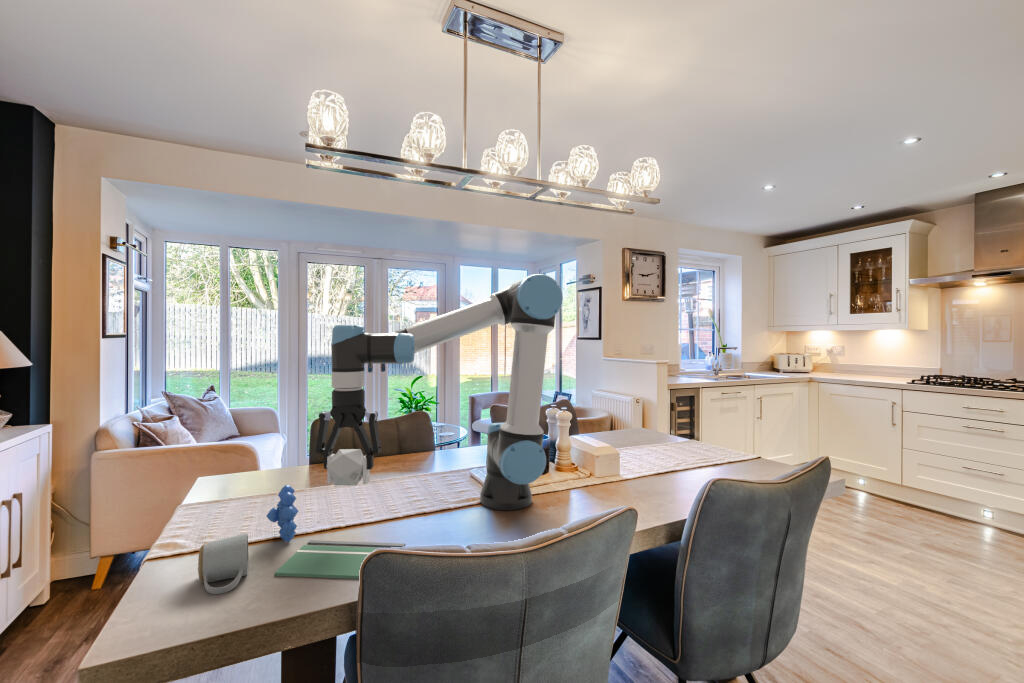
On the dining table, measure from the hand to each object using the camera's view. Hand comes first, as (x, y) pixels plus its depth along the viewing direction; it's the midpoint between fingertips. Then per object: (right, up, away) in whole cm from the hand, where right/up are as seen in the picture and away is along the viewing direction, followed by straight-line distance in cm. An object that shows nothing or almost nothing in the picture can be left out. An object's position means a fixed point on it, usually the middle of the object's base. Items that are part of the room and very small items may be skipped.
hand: (348, 482), depth 111 cm
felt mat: (+4, -12, -15) cm, 20 cm away
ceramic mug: (-16, -12, -23) cm, 30 cm away
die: (0, -1, 0) cm, 1 cm away
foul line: (+4, -12, -7) cm, 14 cm away
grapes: (-14, -12, -5) cm, 19 cm away
